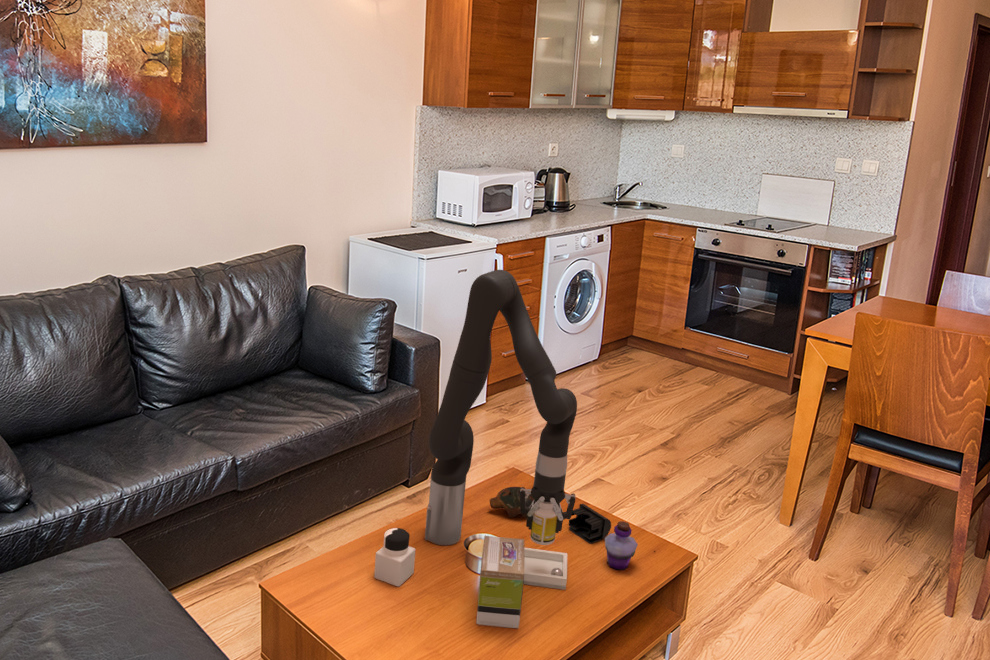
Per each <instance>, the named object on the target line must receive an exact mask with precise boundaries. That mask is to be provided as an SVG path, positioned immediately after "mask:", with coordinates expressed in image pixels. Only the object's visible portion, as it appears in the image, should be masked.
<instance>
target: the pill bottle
mask: <svg viewBox="0 0 990 660" xmlns="http://www.w3.org/2000/svg"><path fill="white" fill-rule="evenodd" d="M557 517H558V516H557V514H556V513H555V510H554V508H553V504H551V502H544V501H543V502H542V503H541V502H540V506H539V507H538V509H537V510H536V511H534V513H533V518H532V526H531V530H530V536H529V537H530V539H531V541H532V542H534V543H535V544H537V545H541V546H548V545H551V544H553V543H554V542H555V540H556V534H557V533H556V525H557Z"/></svg>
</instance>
